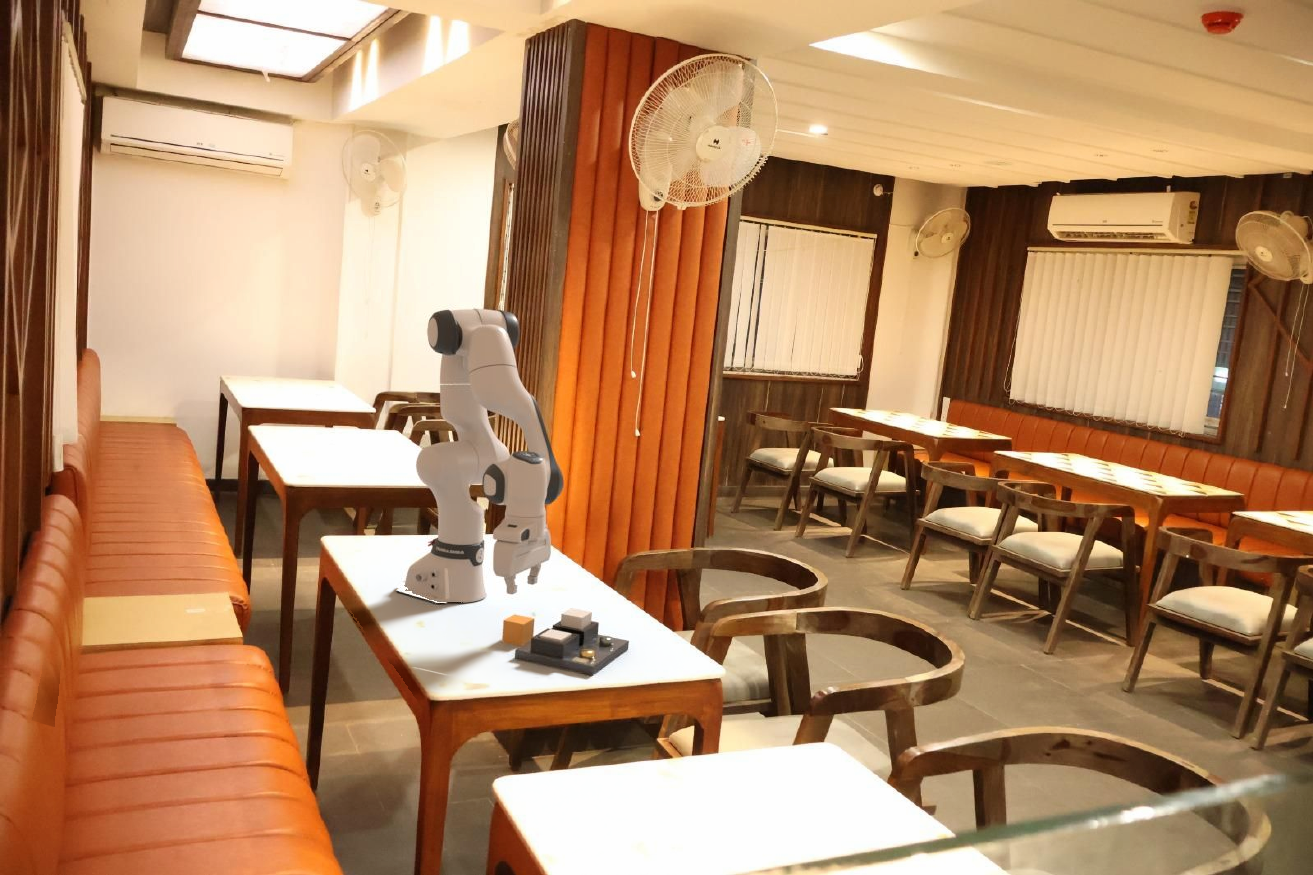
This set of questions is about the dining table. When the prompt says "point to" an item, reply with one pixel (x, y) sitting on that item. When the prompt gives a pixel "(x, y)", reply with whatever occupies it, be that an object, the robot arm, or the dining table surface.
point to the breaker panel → (573, 650)
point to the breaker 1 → (555, 635)
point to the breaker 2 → (576, 618)
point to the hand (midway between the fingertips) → (522, 588)
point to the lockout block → (518, 630)
